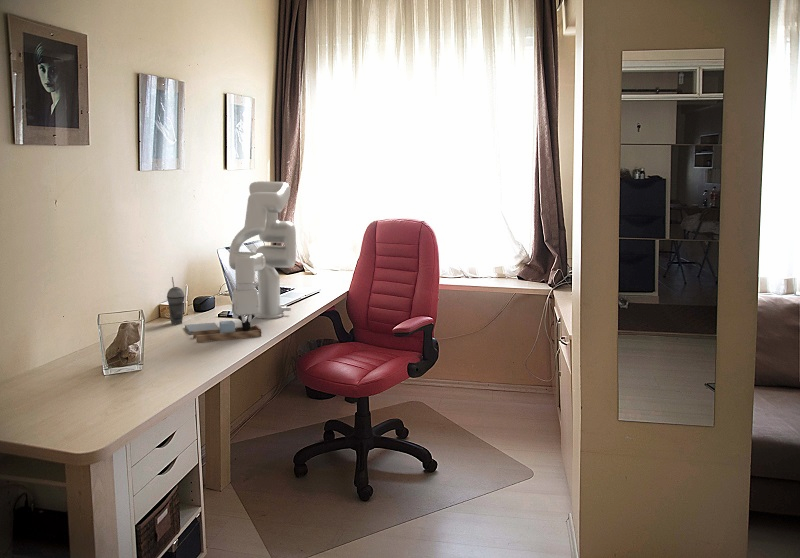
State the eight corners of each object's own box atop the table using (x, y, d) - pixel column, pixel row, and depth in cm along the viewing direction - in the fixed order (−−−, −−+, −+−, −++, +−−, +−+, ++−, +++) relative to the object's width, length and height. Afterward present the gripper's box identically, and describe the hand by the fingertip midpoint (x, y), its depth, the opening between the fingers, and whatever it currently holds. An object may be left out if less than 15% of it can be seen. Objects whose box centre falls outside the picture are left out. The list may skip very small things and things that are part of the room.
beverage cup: (182, 325, 301) (180, 278, 298) (165, 325, 301) (163, 278, 298) (187, 321, 308) (186, 275, 305) (171, 321, 309) (169, 275, 305)
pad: (214, 325, 303) (214, 322, 303) (220, 331, 292) (220, 328, 292) (185, 327, 298) (184, 324, 298) (189, 334, 287) (189, 331, 287)
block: (232, 335, 288) (232, 320, 287) (235, 338, 283) (235, 323, 282) (219, 336, 286) (219, 321, 285) (222, 339, 281) (222, 324, 280)
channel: (256, 331, 293) (256, 324, 293) (261, 336, 286) (261, 329, 286) (193, 337, 283) (193, 329, 282) (197, 342, 276) (196, 334, 275)
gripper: (261, 283, 291) (262, 327, 294) (224, 285, 284) (225, 331, 288) (266, 286, 284) (267, 332, 287) (228, 289, 278) (229, 335, 281)
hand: (246, 331), depth 287 cm, fingers closed
